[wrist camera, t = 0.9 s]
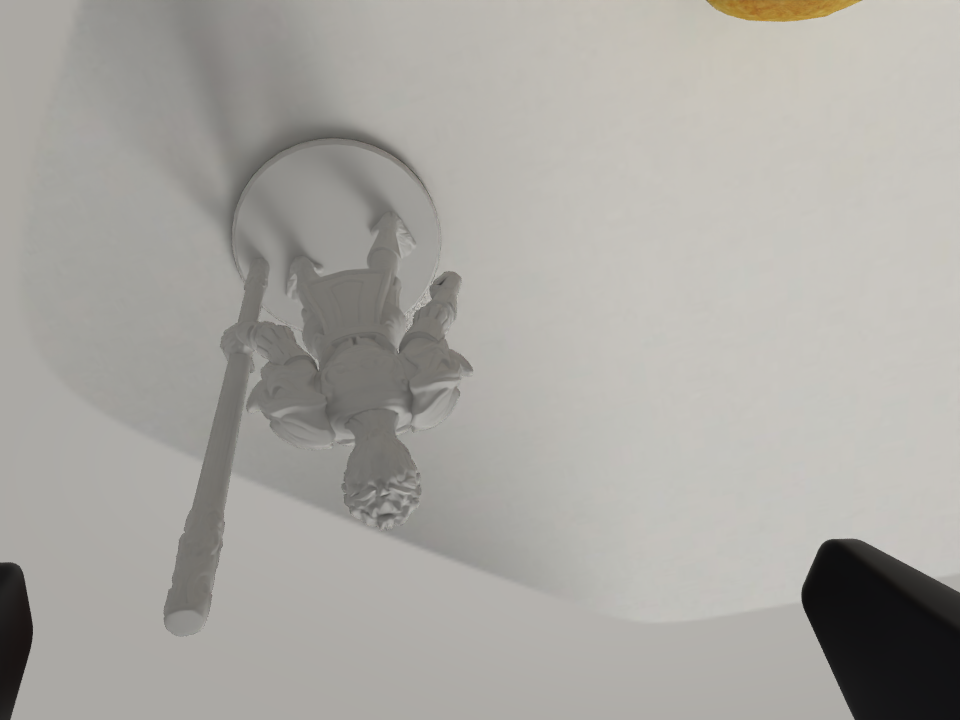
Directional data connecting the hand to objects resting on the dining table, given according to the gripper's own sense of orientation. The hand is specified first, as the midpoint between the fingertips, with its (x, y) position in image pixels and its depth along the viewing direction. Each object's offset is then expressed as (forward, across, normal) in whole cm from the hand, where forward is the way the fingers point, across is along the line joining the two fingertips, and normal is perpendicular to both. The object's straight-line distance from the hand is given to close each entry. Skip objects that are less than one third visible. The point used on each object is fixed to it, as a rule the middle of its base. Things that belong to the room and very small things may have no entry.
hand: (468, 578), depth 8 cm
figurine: (+12, +1, 0) cm, 13 cm away
